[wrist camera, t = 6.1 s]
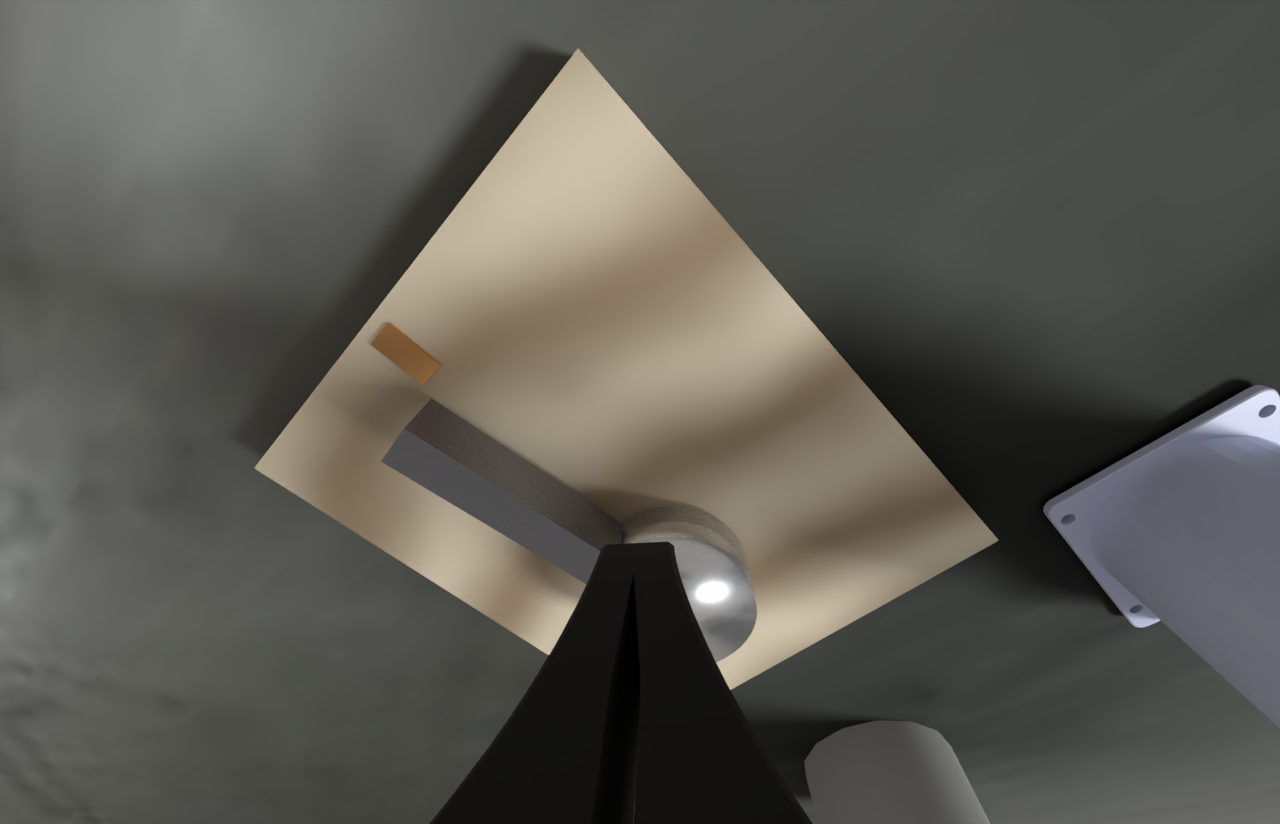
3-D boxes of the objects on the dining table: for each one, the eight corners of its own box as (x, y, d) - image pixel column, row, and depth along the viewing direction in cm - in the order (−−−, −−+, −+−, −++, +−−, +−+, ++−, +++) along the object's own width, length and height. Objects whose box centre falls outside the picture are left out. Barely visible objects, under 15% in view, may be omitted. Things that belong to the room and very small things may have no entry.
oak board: (976, 515, 20) (1042, 588, 17) (661, 698, 27) (663, 780, 23) (585, 59, 14) (562, 25, 10) (280, 447, 20) (201, 509, 16)
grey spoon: (777, 561, 20) (792, 610, 17) (676, 638, 22) (678, 691, 20) (471, 343, 16) (442, 373, 13) (385, 465, 18) (348, 506, 16)
